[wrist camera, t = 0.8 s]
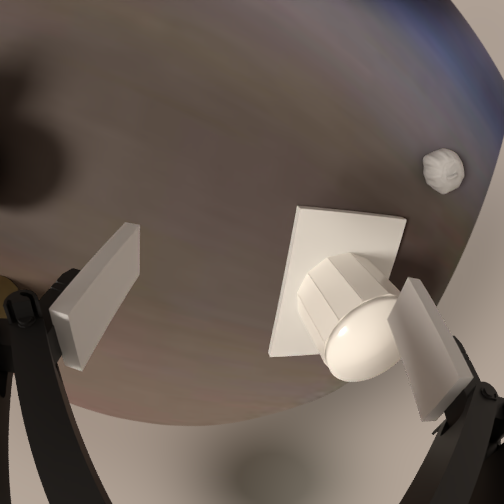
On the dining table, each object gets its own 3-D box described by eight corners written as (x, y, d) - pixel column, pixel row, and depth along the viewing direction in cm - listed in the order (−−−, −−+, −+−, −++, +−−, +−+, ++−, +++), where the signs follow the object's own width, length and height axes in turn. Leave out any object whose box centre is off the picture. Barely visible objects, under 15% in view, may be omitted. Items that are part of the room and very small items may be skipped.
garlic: (409, 181, 35) (436, 193, 30) (420, 138, 33) (449, 146, 28) (441, 191, 36) (468, 204, 32) (452, 152, 34) (480, 162, 30)
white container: (295, 264, 36) (329, 318, 27) (377, 245, 37) (426, 289, 28) (299, 334, 40) (326, 392, 31) (372, 314, 41) (409, 363, 32)
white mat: (297, 205, 34) (300, 208, 33) (402, 216, 37) (406, 219, 36) (268, 352, 42) (269, 357, 41) (359, 345, 45) (362, 349, 44)
